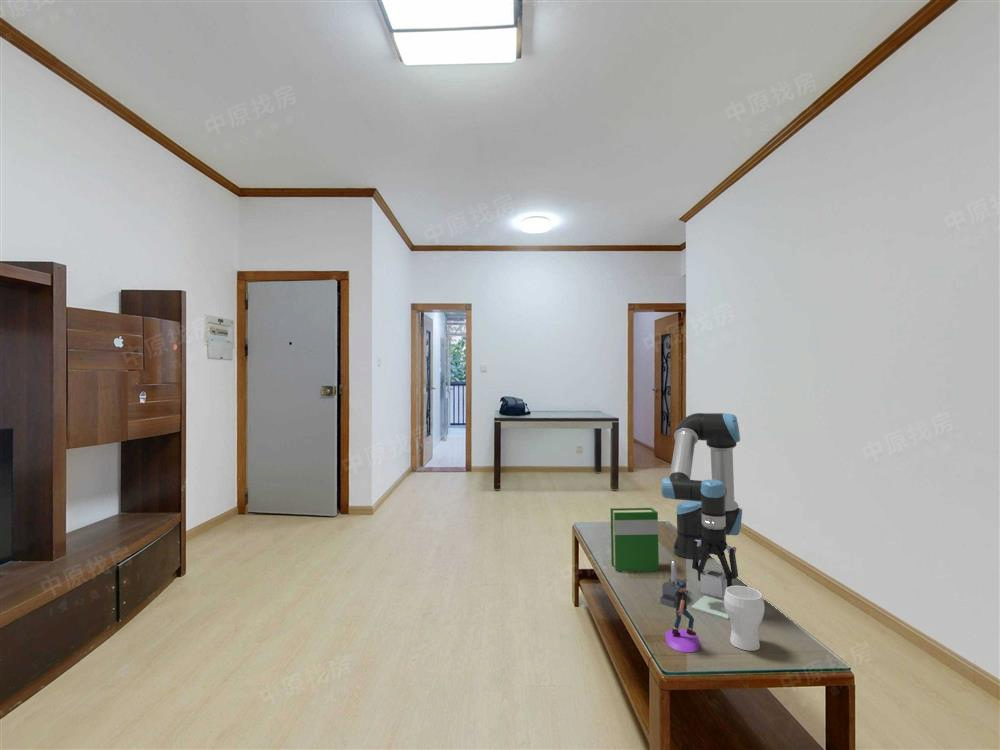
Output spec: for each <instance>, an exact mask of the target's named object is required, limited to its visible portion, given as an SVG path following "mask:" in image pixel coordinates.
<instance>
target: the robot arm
mask: <svg viewBox="0 0 1000 750" xmlns="http://www.w3.org/2000/svg"><path fill="white" fill-rule="evenodd" d="M737 418H738V417H737V416H736V415H735V414H733V413H724V412H722V413H720V412H718V413H716V412H715V413H712V412H711V413H710V412H708V413H707V412H706V413H705V412H703V413H702V412H696V413H692V414H690V415H688V416H686V417H684V418H683V419H682V420H681V421H680V422H678V424H677V426H676V428H675V430H674V434H673V440H675V442H674V448H673V455H672V459H671V465H670V469H669V476H668V477H664V478H662V480H661V484H660V485H661V487H660V488H661V489H660V491H661V492H660V493H661V496H662V497H663V498H665V499H669V500H670V499H671V500H674V501H675V500H679V501H680V500H681V501H680V502H678V503H677V504H676V514H675V515H676V531H677V532H676V533H677V534H676V538H675V541H674V544H673V549H672V550H673V551H672V552H673V553H674V555H676V554H677V555H676V556H678V555H679V556H678V557H681V556H682V557H681V558H684V557H685V559H690V560H691V559H692V565H691V567H692V569H693V570H696V572H697V580H698V582H700V574H701V573H702V572H704V571H705V566H706V565H707V562H708V559H709V557H710V555H715V556H717V558H718V559H719V562H720V565H721V567H722V570H723V572H724V573H725V575H726V578H725V579H724V595H725V591H726V588H728V587H730V586H733V580H736V579H737V578H738V577H739V573H738V570H739V569H738V565H737V559H736V558H737V557H736V551H737V548H736V547H735V546H733V547H732V546H730V545H728V543H727V536H739V535H740V532H741V527H742V517H743V509H742V508H740V507H739V503H737V501H736V500H735V483H734V482H735V481H734V480H735V479H734V454H733V453H734V451H733V449H735V448H736V447H737V443H739V442H741V435H740V429H739V422H738V419H737ZM698 441H705V443H706V446H707V447H708V448H709V449H710V464H711V465H710V466H711V469H710V470H711V479H705V480H697V479H696V480H695V479H691V477H692V468H693V462H694V461H693V460H694V454H695V447H696V446H695V445H696V444H697V443H698ZM726 550H727V553H728V558H729V563H728V561H727V558H726V553H725V551H726ZM699 561H700V562H699ZM701 593H703V592H701ZM703 594H704V593H703Z"/></svg>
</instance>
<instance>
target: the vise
mask: <svg viewBox="0 0 1000 750" xmlns="http://www.w3.org/2000/svg"><path fill="white" fill-rule="evenodd" d="M677 562H678V561H677V560H673V559H672V560H670V579H668V581H665V582H663V583H662V584H661V585H662V595H661V596H660V598H659V600H660V601H659V602H660V603H659V604H662V605H664V606H668V607H671V608H676V606H675V604H676V601H677V599H676V597H675V593H676V592H677V590H679V589H676V588H675V586H676V585H678V584H679V583H680V582H684V583H685V584H686V585H687V581H688V579H687V578H683V579H680V578H678V563H677ZM684 593H685V594H686V595H687V598H688V597H689V590H688V589H686V590H685V591H684Z"/></svg>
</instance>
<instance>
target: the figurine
mask: <svg viewBox="0 0 1000 750" xmlns="http://www.w3.org/2000/svg"><path fill="white" fill-rule="evenodd" d="M675 588H676V589H679V590H677V592H676V593H675V597H676V599H677V601H676V604H675V606H676V607H675V614H676V617H675V618H676V619H675V622H674V623H673V624H674V625H673V627H672V629H669V630H667V631H666V632H665V643H666V645H667V646H668V647H669V648H670V649H672V650H675V651H678V652H683V653H693V652H696V651H698V650H699V649H700V638H699V636H698V635H697V631H694V621H695V618H694V617H693V616H692V614H691V613H690V612H689V611H688V610H687V609H688V606H687V601H688V597H687V595H686V594H685V593H684V591H685V590H687V583H686V584H685V583H684V582H680V583H679V584H678V585H676V586H675ZM682 615H683V616H685V617H686V618H687V619H688V625H687V628H686V629H681V628H680V624H681V621H682Z"/></svg>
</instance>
